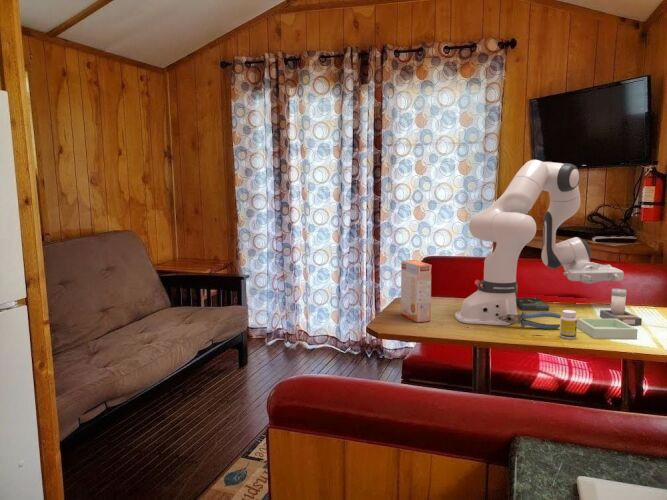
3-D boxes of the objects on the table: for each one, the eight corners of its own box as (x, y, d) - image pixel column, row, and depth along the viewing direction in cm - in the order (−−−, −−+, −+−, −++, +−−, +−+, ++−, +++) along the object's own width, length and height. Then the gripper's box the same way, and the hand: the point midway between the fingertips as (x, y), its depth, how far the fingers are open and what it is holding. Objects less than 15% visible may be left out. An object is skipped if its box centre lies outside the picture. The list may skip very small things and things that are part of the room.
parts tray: (594, 338, 157) (594, 329, 157) (576, 327, 170) (577, 318, 170) (636, 338, 157) (637, 329, 156) (616, 327, 169) (616, 318, 169)
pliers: (498, 328, 170) (499, 311, 170) (497, 326, 173) (498, 309, 172) (560, 330, 167) (561, 313, 166) (559, 328, 169) (559, 311, 169)
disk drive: (511, 303, 209) (522, 311, 194) (511, 297, 208) (522, 304, 194) (537, 303, 208) (549, 312, 193) (537, 297, 208) (550, 304, 193)
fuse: (613, 321, 177) (615, 290, 176) (607, 318, 182) (609, 288, 181) (627, 321, 177) (629, 291, 176) (620, 318, 182) (622, 288, 180)
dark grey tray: (616, 325, 172) (616, 317, 172) (599, 316, 184) (600, 309, 184) (641, 325, 171) (641, 317, 171) (623, 316, 183) (623, 309, 183)
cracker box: (431, 321, 179) (432, 264, 177) (416, 323, 177) (416, 265, 175) (414, 312, 192) (415, 259, 190) (400, 314, 191) (400, 259, 188)
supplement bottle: (578, 339, 157) (579, 313, 156) (561, 338, 157) (563, 312, 156) (573, 335, 161) (575, 309, 160) (558, 334, 162) (559, 309, 161)
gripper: (561, 265, 204) (576, 270, 190) (613, 264, 203) (631, 270, 189) (561, 280, 205) (575, 287, 191) (612, 279, 204) (630, 286, 190)
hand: (603, 278), depth 190 cm, fingers open, 8 cm apart
